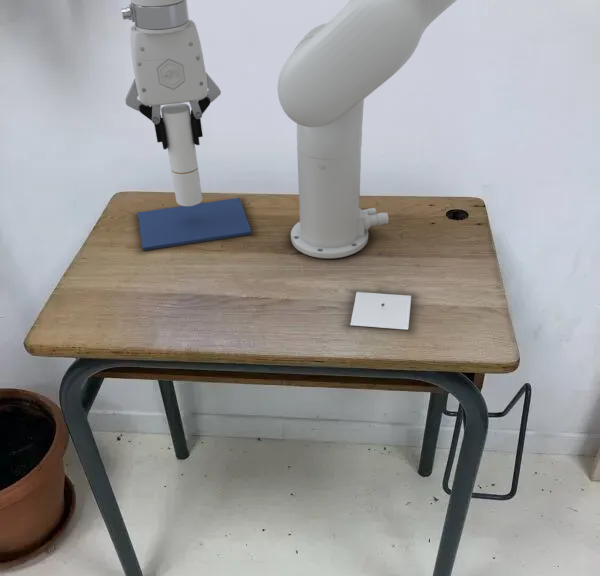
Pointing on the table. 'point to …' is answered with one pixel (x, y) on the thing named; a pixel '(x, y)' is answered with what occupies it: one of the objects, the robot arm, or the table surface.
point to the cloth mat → (193, 224)
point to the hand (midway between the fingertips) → (180, 142)
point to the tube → (182, 153)
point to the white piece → (381, 310)
